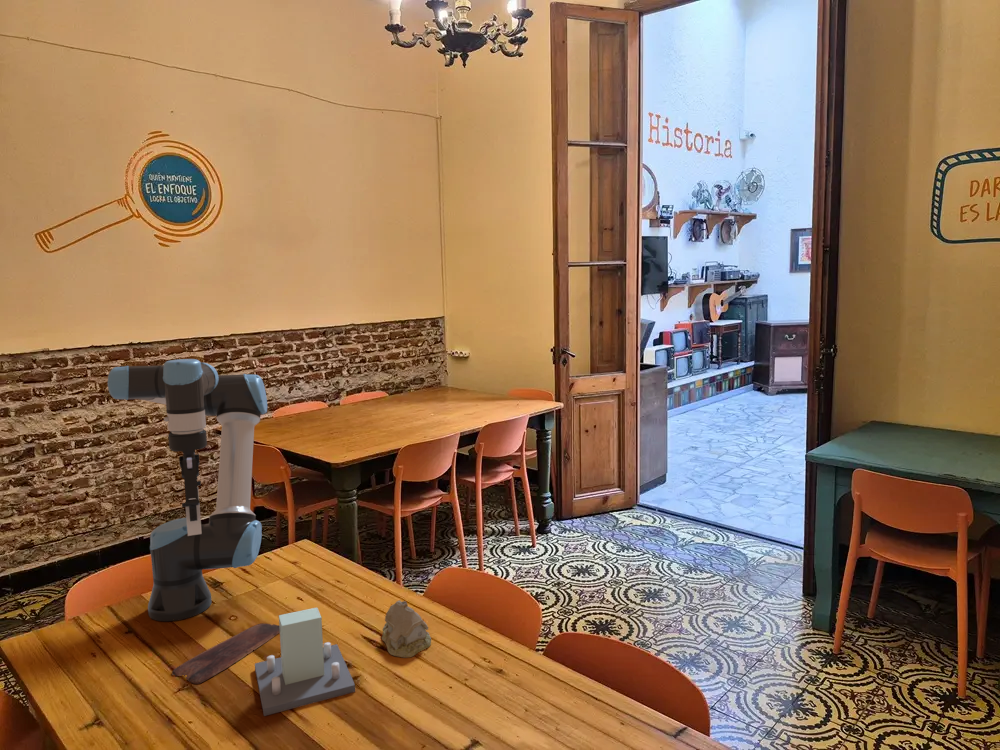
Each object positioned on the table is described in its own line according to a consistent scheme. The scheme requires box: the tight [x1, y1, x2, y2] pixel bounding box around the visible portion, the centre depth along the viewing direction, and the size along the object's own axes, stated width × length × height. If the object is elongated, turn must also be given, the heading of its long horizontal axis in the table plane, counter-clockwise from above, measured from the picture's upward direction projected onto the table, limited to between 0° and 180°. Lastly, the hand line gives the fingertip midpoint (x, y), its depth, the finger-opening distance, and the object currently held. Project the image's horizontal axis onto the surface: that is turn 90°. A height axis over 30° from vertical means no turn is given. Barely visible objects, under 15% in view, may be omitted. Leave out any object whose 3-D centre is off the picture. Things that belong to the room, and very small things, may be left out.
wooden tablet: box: [171, 623, 280, 685], centre depth 156 cm, size 26×2×10 cm
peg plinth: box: [254, 641, 356, 717], centre depth 143 cm, size 18×18×4 cm
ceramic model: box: [381, 600, 432, 658], centre depth 158 cm, size 14×11×10 cm
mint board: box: [278, 607, 324, 685], centre depth 142 cm, size 5×8×13 cm, turn 115°
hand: (194, 524), depth 148 cm, fingers open, 13 cm apart
